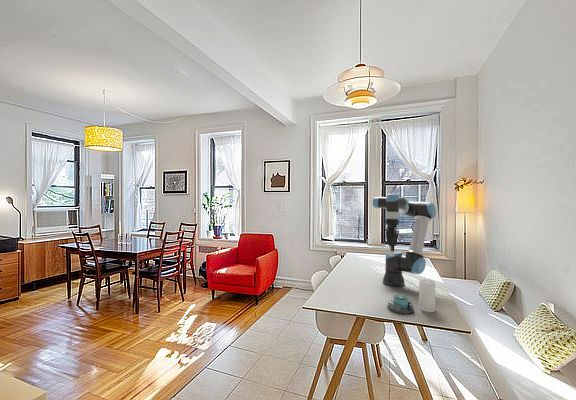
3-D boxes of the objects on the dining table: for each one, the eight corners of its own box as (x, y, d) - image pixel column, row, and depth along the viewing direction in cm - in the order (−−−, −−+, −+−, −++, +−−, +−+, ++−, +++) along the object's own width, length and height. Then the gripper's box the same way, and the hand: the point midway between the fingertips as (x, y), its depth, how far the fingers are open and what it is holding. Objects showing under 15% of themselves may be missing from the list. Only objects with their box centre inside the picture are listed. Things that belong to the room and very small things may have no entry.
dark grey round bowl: (404, 304, 170) (405, 297, 170) (419, 313, 156) (419, 306, 156) (382, 305, 168) (383, 298, 167) (395, 314, 154) (395, 307, 154)
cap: (402, 304, 167) (402, 294, 167) (411, 309, 159) (411, 298, 159) (390, 305, 165) (390, 294, 165) (398, 310, 157) (399, 299, 157)
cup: (416, 306, 166) (416, 279, 166) (429, 306, 167) (430, 279, 167) (423, 312, 158) (424, 283, 158) (438, 312, 159) (438, 283, 158)
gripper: (381, 217, 186) (380, 254, 186) (392, 219, 173) (391, 258, 173) (392, 217, 187) (391, 253, 187) (403, 219, 174) (402, 258, 174)
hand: (391, 255), depth 180 cm, fingers closed
